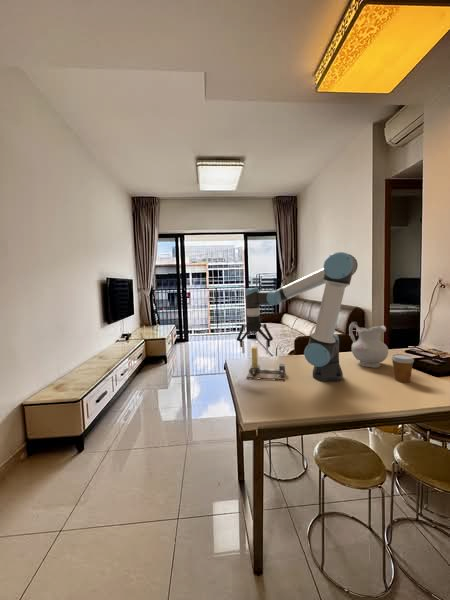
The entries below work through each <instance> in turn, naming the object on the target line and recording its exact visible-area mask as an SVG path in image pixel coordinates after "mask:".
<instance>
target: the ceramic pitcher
mask: <svg viewBox="0 0 450 600" xmlns="http://www.w3.org/2000/svg"><path fill="white" fill-rule="evenodd" d="M353 329H356V331H357V334H358V339H357V340H356V337H355V335H354V333H353ZM386 331H387V327H386V326H385V325H378V326H372V327H369V328H365V327H360V326H359V325H358V322H357V321H351V323H350V325H349V327H348V333H349V336H350V339H351V340H352V344H351V353H352V355H353V357H354V358H355V359H356V360H357V361H359V362H357V363H358V365H359V366H362V367H366V368H367V367H368V368H372V369H378V368H380V366H381V363H382V362H384V361H385V360H386V359H387V357H388V356H389V346H387V344H385V343H384V342H383V341H382V340H381V335H382V333H385V332H386Z"/></svg>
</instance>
